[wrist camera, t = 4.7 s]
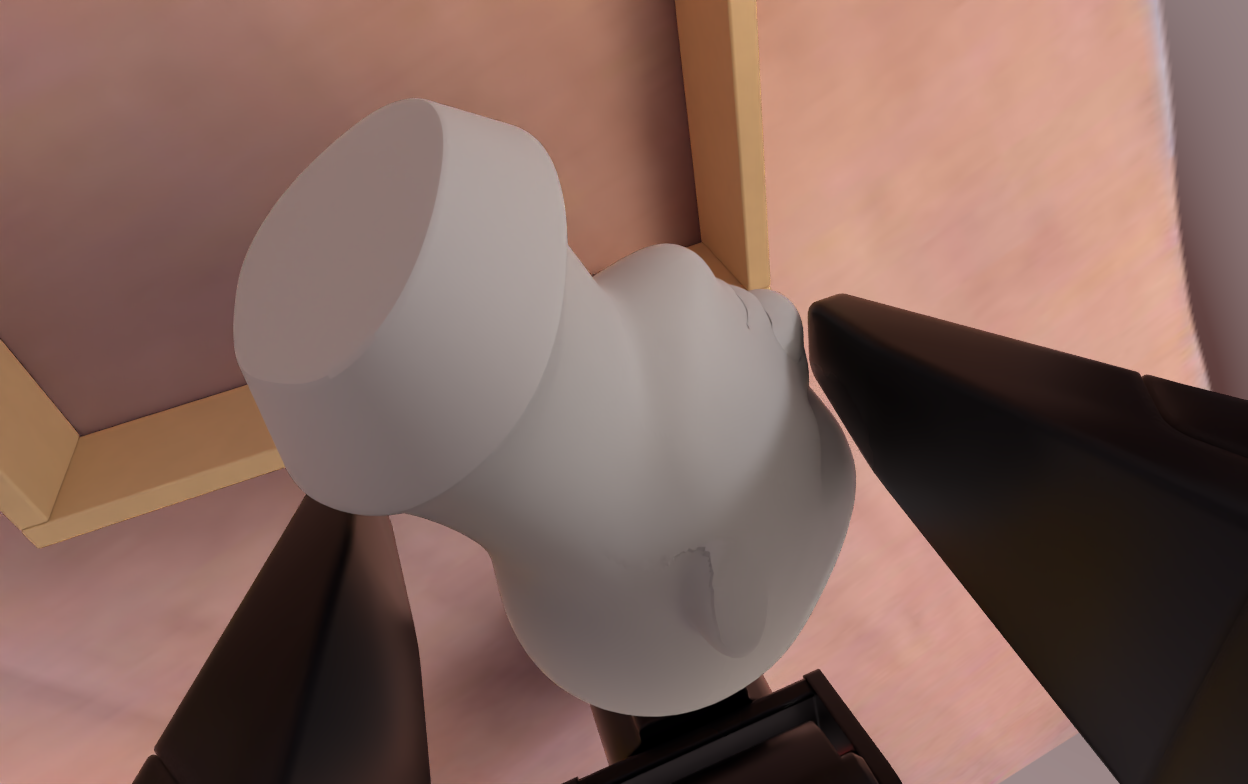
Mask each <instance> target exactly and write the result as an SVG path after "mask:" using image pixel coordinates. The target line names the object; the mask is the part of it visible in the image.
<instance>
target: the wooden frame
mask: <svg viewBox="0 0 1248 784" xmlns="http://www.w3.org/2000/svg"><path fill="white" fill-rule="evenodd" d="M675 7H676V16H677V25H678V34H679V43H680V52H681V61H682V70H683V79H684V88H685V97H686V106H687V115H688V124H689V133H690V142H691V151H692V160H693V169H694V178H695V187H696V196H697V205H698V214H699V223H700V232H701V240H702V242H701V243H698V244H695V245H692V246H688V247H685V248H688V249H690V250H691V251H693V252H695V253H696V254H697V255H698V256H699V257H701V258H702V259H703V260H704V262H705V263H706V264H707V265H708V267H709V268H710V269H711V271H712V273H713V274H714V276H715V277H716V278H719V279H721V280H723V281H724V282H726V283H727V284H730V285H734V286H737V287H740V288H742V289H745V290H747V291H750V290H754V289H769V290H771V287H770V286H769V285H770V266H769V246H768V226H767V206H766V186H765V167H764V147H763V127H762V107H761V87H760V68H759V48H758V28H757V8H756V0H675ZM282 468H285V465H284V463H283V461H282V459H281V457H280V454H279V452H278V450H277V448H276V446H275V443H274V441H273V439H272V437H271V435H270V433H269V430H268V428H267V426H266V424H265V422H264V419H263V417H262V415H261V413H260V411H259V408H258V406H257V404H256V402H255V400H254V398H253V395H252V393H251V391H250V389H249V387H248V385H245V386H242V387H238V388H235V389H232V390H229V391H226V392H222V393H219V394H216V395H213V396H210V397H206V398H203V399H200V400H197V401H194V402H190V403H187V404H184V405H181V406H178V407H175V408H171V409H168V410H165V411H162V412H159V413H155V414H152V415H149V416H146V417H143V418H139V419H136V420H133V421H130V422H127V423H123V424H120V425H117V426H114V427H111V428H107V429H104V430H101V431H98V432H95V433H92V434H88V435H85V436H82V437H79V434H78V433H77V431H76V430H75V429H74V428H73V427H72V425H71V424H70V423H69V422H68V421H67V419H66V418H65V417H64V416H63V414H62V413H61V412H60V411H59V410H58V408H57V407H56V406H55V405H54V404H53V402H52V401H51V400H50V399H49V398H48V396H47V395H46V394H45V393H44V391H43V390H42V389H41V388H40V387H39V385H38V384H37V383H36V382H35V381H34V379H33V378H32V377H31V376H30V374H29V373H28V372H27V371H26V370H25V368H24V367H23V366H22V365H21V364H20V362H19V361H18V360H17V359H16V357H15V356H14V355H13V354H12V353H11V351H10V350H9V349H8V348H7V347H6V345H5V344H4V343H3V342H2V340H1V339H0V511H1V512H2V513H3V514H4V515H5V516H6V517H7V518H8V519H9V520H10V521H11V522H12V523H13V524H14V525H15V526H16V527H17V528H18V529H20V530H22V533H23V534H24V535H25V536H26V537H27V538H28V539H29V540H30V541H31V542H32V543H33V544H34V545H35V546H36V547H37V548H43V547H46V546H49V545H52V544H55V543H58V542H61V541H64V540H67V539H70V538H73V537H76V536H79V535H82V534H85V533H88V532H91V531H94V530H97V529H101V528H104V527H107V526H110V525H113V524H116V523H119V522H122V521H125V520H128V519H131V518H134V517H137V516H140V515H143V514H146V513H149V512H152V511H155V510H158V509H161V508H164V507H167V506H170V505H173V504H176V503H179V502H182V501H185V500H188V499H191V498H194V497H197V496H200V495H203V494H206V493H209V492H212V491H215V490H218V489H221V488H224V487H227V486H230V485H234V484H237V483H240V482H243V481H246V480H249V479H252V478H255V477H258V476H261V475H264V474H267V473H270V472H273V471H276V470H279V469H282Z"/></svg>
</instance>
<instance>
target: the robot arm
mask: <svg viewBox="0 0 1248 784" xmlns="http://www.w3.org/2000/svg"><path fill="white" fill-rule="evenodd" d="M808 340H809V361H810V366H811V369H812V372H813V374H814V376H815V378H816V380H817V381H818V383H819V385H820V386H821V388H822V390H823V391H824V393H825V394H826V396H827V398H828V399H829V401H830V403H831V404H832V406H833V408H834V409H835V411H836V412H837V414H838V416H839V417H840V419H841V421H842V422H843V424H844V425H845V427H846V429H847V430H848V432H849V434H850V435H851V437H852V439H853V440H854V442H855V443H856V445H857V447H858V448H859V450H860V452H861V453H862V455H863V456H864V458H865V459H866V461H867V463H868V464H869V466H870V467H871V469H872V470H873V472H874V473H875V474H876V476H877V477H878V478H879V480H880V481H881V482H882V484H883V485H884V486H885V488H886V489H887V490H888V491H889V493H890V494H891V495H892V497H893V498H894V499H895V500H896V502H897V503H898V504H899V505H900V507H901V508H902V509H903V510H904V512H905V513H906V514H907V515H908V517H909V518H910V519H911V521H912V522H913V523H914V524H915V526H916V527H917V528H918V529H919V531H920V532H921V533H922V534H923V536H924V537H925V538H926V540H927V541H928V542H929V543H930V545H931V546H932V547H933V548H934V550H935V551H936V552H937V553H938V555H939V556H940V557H941V558H942V560H943V561H944V562H945V564H946V565H947V566H948V567H949V569H950V570H951V571H952V572H953V574H954V575H955V576H956V577H957V579H958V580H959V581H960V582H961V584H962V585H963V586H964V588H965V589H966V590H967V591H968V593H969V594H970V595H971V596H972V598H973V599H974V600H975V601H976V603H977V604H978V605H979V606H980V608H981V609H982V610H983V612H984V613H985V614H986V615H987V617H988V618H989V619H990V620H991V622H992V623H993V624H994V625H995V627H996V628H997V629H998V631H999V632H1000V633H1001V634H1002V636H1003V637H1004V638H1005V639H1006V641H1007V642H1008V643H1009V644H1010V646H1011V647H1012V648H1013V649H1014V651H1015V652H1016V653H1017V655H1018V656H1019V657H1020V658H1021V660H1022V661H1023V662H1024V663H1025V665H1026V666H1027V667H1028V668H1029V670H1030V671H1031V672H1032V673H1033V675H1034V676H1035V677H1036V679H1037V680H1038V681H1039V682H1040V684H1041V685H1042V686H1043V687H1044V689H1045V690H1046V691H1047V692H1048V694H1049V695H1050V696H1051V697H1052V699H1053V700H1054V701H1055V703H1056V704H1057V705H1058V706H1059V708H1060V709H1061V710H1062V711H1063V713H1064V714H1065V715H1066V716H1067V718H1068V719H1069V720H1070V722H1071V723H1072V724H1073V725H1074V727H1075V728H1076V729H1077V730H1078V732H1079V733H1080V734H1081V735H1082V737H1083V738H1084V739H1085V740H1086V742H1087V743H1088V744H1089V745H1090V747H1091V748H1092V749H1093V751H1094V752H1095V753H1096V754H1097V756H1098V757H1099V758H1100V759H1101V761H1102V762H1103V763H1104V764H1105V766H1106V767H1107V768H1108V769H1109V771H1110V772H1111V773H1112V775H1113V776H1114V777H1115V778H1116V780H1117V781H1118V782H1119V783H1120V784H1248V400H1244V399H1240V398H1236V397H1232V396H1228V395H1224V394H1220V393H1216V392H1212V391H1208V390H1204V389H1200V388H1196V387H1192V386H1188V385H1184V384H1181V383H1177V382H1173V381H1170V380H1166V379H1162V378H1159V377H1155V376H1151V375H1144V376H1142V377H1141V375H1140V374H1139V373H1138V372H1136V371H1132V370H1128V369H1125V368H1121V367H1117V366H1113V365H1110V364H1106V363H1102V362H1098V361H1095V360H1091V359H1087V358H1083V357H1080V356H1076V355H1072V354H1068V353H1065V352H1061V351H1057V350H1053V349H1050V348H1046V347H1042V346H1038V345H1035V344H1031V343H1027V342H1024V341H1020V340H1016V339H1012V338H1009V337H1005V336H1001V335H997V334H994V333H990V332H986V331H982V330H979V329H975V328H971V327H967V326H964V325H960V324H956V323H952V322H949V321H945V320H941V319H937V318H934V317H930V316H926V315H922V314H919V313H915V312H911V311H908V310H904V309H900V308H896V307H893V306H889V305H885V304H881V303H878V302H874V301H870V300H866V299H863V298H859V297H855V296H851V295H848V294H837V295H834V296H831V297H828V298H825V299H822V300H819V301H816V302H814V303H813V304H812V305H811V306H810V307H809V311H808ZM590 707H591V710H592V713H593V716H594V719H595V722H596V726H597V729H598V732H599V735H600V738H601V741H602V744H603V748H604V751H605V754H606V757H607V760H608V763H609V766H608V767H606V768H603V769H601V770H599V771H597V772H595V773H592V774H590V775H588V776H586V777H583V778H581V779H579V778H578V777H576V778H573V779H571V780H569V781H567V782H565V783H562V784H902V782H901V780H900V779H899V777H898V776H897V774H896V773H895V771H894V770H893V768H892V767H891V765H890V764H889V762H888V761H887V760H886V758H885V757H884V756H883V754H882V753H881V752H880V750H879V749H878V748H877V746H876V745H875V743H874V742H873V741H872V739H871V738H870V737H869V735H868V734H867V733H866V731H865V730H864V729H863V727H862V726H861V725H860V723H859V722H858V720H857V719H856V718H855V716H854V715H853V714H852V712H851V711H850V710H849V708H848V707H847V706H846V704H845V703H844V702H843V700H842V699H841V697H840V696H839V695H838V693H837V692H836V691H835V689H834V688H833V687H832V685H831V684H830V683H829V681H828V680H827V679H826V677H825V676H824V674H823V673H822V672H821V670H820V669H817V670H814V671H812V672H810V673H808V674H806V675H803V679H802V680H800V681H797V682H795V683H793V684H791V685H789V686H786V687H784V688H782V689H780V690H777V691H775V692H773V693H772V691H771V689H770V687H769V685H768V683H767V682H766V680H765V678H764V676H763V674H762V675H761V676H760V677H759V678H757V679H756V680H755V681H753V682H752V683H750V684H749V685H747V686H746V687H744V688H743V689H741V690H739V691H738V692H736V693H734V694H733V695H731V696H729V697H727V698H725V699H723V700H721V701H719V702H717V703H715V704H712V705H709V706H707V707H704V708H701V709H698V710H695V711H691V712H687V713H683V714H678V715H669V716H657V717H655V716H634V715H627V714H621V713H617V712H613V711H609V710H605V709H602V708H599V707H597V706H594V705H591V704H590ZM154 751H155V753H156V754H157V755H151V756H149V757H148V758H147V760H146V761H145V763H144V765H143V766H142V768H141V770H140V771H139V773H138V775H137V776H136V778H135V780H134V781H133V783H132V784H431V778H430V767H429V756H428V744H427V733H426V722H425V710H424V699H423V688H422V676H421V665H420V657H419V649H418V642H417V637H416V632H415V627H414V622H413V617H412V613H411V609H410V604H409V600H408V595H407V591H406V586H405V582H404V577H403V573H402V568H401V564H400V559H399V555H398V550H397V546H396V541H395V537H394V532H393V528H392V525H391V521H390V519H389V516H388V515H387V516H364V515H357V514H352V513H347V512H343V511H340V510H337V509H334V508H331V507H329V506H326V505H324V504H322V503H320V502H318V501H316V500H314V499H313V498H311V497H310V496H308V495H307V494H306V496H305V497H304V499H303V501H302V502H301V504H300V506H299V507H298V509H297V511H296V512H295V514H294V516H293V517H292V519H291V521H290V522H289V524H288V526H287V527H286V529H285V531H284V532H283V534H282V536H281V537H280V539H279V541H278V542H277V544H276V546H275V547H274V549H273V551H272V552H271V554H270V556H269V557H268V559H267V561H266V562H265V564H264V566H263V567H262V569H261V571H260V572H259V574H258V576H257V577H256V579H255V581H254V582H253V584H252V586H251V587H250V589H249V591H248V592H247V594H246V596H245V597H244V599H243V601H242V602H241V604H240V606H239V607H238V609H237V611H236V612H235V614H234V616H233V617H232V619H231V620H230V622H229V624H228V625H227V627H226V629H225V630H224V632H223V634H222V635H221V637H220V639H219V640H218V642H217V644H216V645H215V647H214V649H213V650H212V652H211V654H210V655H209V657H208V659H207V660H206V662H205V664H204V665H203V667H202V669H201V670H200V672H199V674H198V675H197V677H196V679H195V680H194V682H193V684H192V685H191V687H190V689H189V690H188V692H187V694H186V695H185V697H184V699H183V700H182V702H181V704H180V705H179V707H178V709H177V710H176V712H175V714H174V715H173V717H172V719H171V720H170V722H169V724H168V725H167V727H166V729H165V730H164V732H163V734H162V735H161V737H160V739H159V740H158V742H157V744H156V745H155V747H154Z"/></svg>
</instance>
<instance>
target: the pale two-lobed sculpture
mask: <svg viewBox="0 0 1248 784" xmlns="http://www.w3.org/2000/svg"><path fill="white" fill-rule="evenodd" d="M233 336H234V349H235V355H236V359H237V362H238V365H239V367H240V369H241V371H242V373H243V376H244V378H245V380H246V382H247V384H248V387H249V389H250V391H251V393H252V395H253V398H254V400H255V402H256V404H257V406H258V408H259V411H260V413H261V415H262V417H263V419H264V422H265V424H266V426H267V428H268V430H269V433H270V435H271V437H272V439H273V441H274V443H275V446H276V448H277V450H278V452H279V454H280V457H281V459H282V461H283V463H284V465H285V467H286V469H287V471H288V473H289V475H290V476H291V478H292V479H293V480H294V482H295V483H296V484H297V485H298V487H299V488H300V489H301V490H302V491H303V492H305V493H306V494H307V495H308V496H310V497H311V498H313V499H314V500H316V501H318V502H320V503H322V504H324V505H326V506H329V507H331V508H334V509H337V510H340V511H343V512H347V513H352V514H357V515H364V516H387V515H395V514H402V513H406V514H411V515H415V516H418V517H422V518H425V519H428V520H431V521H434V522H437V523H440V524H442V525H444V526H447V527H449V528H451V529H454V530H456V531H458V532H460V533H462V534H464V535H465V536H467V537H469V538H471V539H472V540H474V541H475V542H477V543H478V544H480V545H481V546H482V547H483V548H484V549H485V550H486V551H487V552H488V553H489V555H490V557H491V559H492V563H493V567H494V571H495V576H496V580H497V584H498V588H499V592H500V596H501V599H502V603H503V606H504V609H505V612H506V614H507V617H508V620H509V622H510V624H511V626H512V629H513V631H514V633H515V635H516V637H517V638H518V640H519V642H520V643H521V645H522V647H523V648H524V650H525V651H526V653H527V654H528V656H529V657H530V658H531V659H532V661H533V662H534V663H535V664H536V666H537V667H538V668H539V669H540V670H541V671H542V672H543V673H544V674H545V675H546V676H547V677H548V678H549V679H550V680H552V681H553V682H554V683H555V684H556V685H558V686H559V687H560V688H562V689H563V690H565V691H566V692H568V693H569V694H571V695H573V696H574V697H576V698H578V699H580V700H582V701H584V702H586V703H588V704H591V705H594V706H597V707H599V708H602V709H605V710H609V711H613V712H617V713H621V714H627V715H634V716H655V717H657V716H669V715H678V714H683V713H687V712H691V711H695V710H698V709H701V708H704V707H707V706H709V705H712V704H715V703H717V702H719V701H721V700H723V699H725V698H727V697H729V696H731V695H733V694H734V693H736V692H738V691H739V690H741V689H743V688H744V687H746V686H747V685H749V684H750V683H752V682H753V681H755V680H756V679H757V678H759V677H760V676H761V675H762V674H764V673H765V672H766V671H767V670H768V669H770V668H771V667H772V666H773V665H774V664H775V663H776V662H777V661H778V660H779V659H780V658H781V657H782V655H783V654H784V653H785V652H786V651H787V650H788V648H789V647H790V646H791V644H792V643H793V642H794V640H795V639H796V638H797V636H798V635H799V633H800V632H801V630H802V629H803V627H804V625H805V624H806V622H807V620H808V618H809V617H810V615H811V613H812V611H813V609H814V607H815V605H816V603H817V602H818V600H819V598H820V596H821V594H822V592H823V590H824V588H825V586H826V584H827V581H828V579H829V577H830V575H831V572H832V570H833V568H834V566H835V563H836V561H837V558H838V556H839V553H840V551H841V548H842V545H843V542H844V539H845V536H846V533H847V530H848V527H849V523H850V519H851V515H852V510H853V506H854V500H855V490H856V471H855V464H854V460H853V456H852V453H851V450H850V447H849V444H848V442H847V439H846V437H845V435H844V433H843V431H842V429H841V427H840V425H839V423H838V422H837V420H836V419H835V417H834V416H833V415H832V413H831V412H830V411H829V409H828V408H827V407H826V406H825V405H824V403H823V402H822V401H821V400H820V398H819V397H818V396H817V395H816V394H815V392H814V391H813V390H812V389H811V388H810V387H809V370H808V363H807V358H806V354H805V349H804V342H803V337H804V336H803V326H802V321H801V318H800V315H799V313H798V311H797V309H796V308H795V306H794V305H793V303H792V302H791V301H790V300H789V299H788V298H786V297H785V296H784V295H782V294H780V293H778V292H776V291H773V290H769V289H754V290H750V291H747V290H745V289H742V288H740V287H737V286H734V285H730V284H727V283H726V282H724V281H723V280H721V279H719V278H716V277H715V276H714V274H713V273H712V271H711V269H710V268H709V267H708V265H707V264H706V263H705V262H704V260H703V259H702V258H701V257H699V256H698V255H697V254H696V253H695V252H693V251H691V250H690V249H688V248H685V247H683V246H680V245H676V244H668V243H665V244H657V245H652V246H649V247H646V248H643V249H641V250H638V251H636V252H634V253H632V254H630V255H628V256H626V257H624V258H622V259H621V260H619V261H617V262H615V263H614V264H612V265H610V266H609V267H607V268H606V269H604V270H602V271H601V272H599V273H597V274H596V275H594V276H591V275H590V273H589V272H588V271H587V269H586V268H585V267H584V265H583V264H582V263H581V261H580V260H579V259H578V257H577V256H576V255H575V253H574V252H573V251H572V249H571V248H570V247H569V245H568V241H567V222H566V212H565V204H564V198H563V193H562V189H561V185H560V181H559V178H558V175H557V172H556V169H555V167H554V164H553V162H552V160H551V158H550V156H549V154H548V153H547V151H546V150H545V148H544V147H543V146H542V144H541V143H540V142H539V141H538V140H537V139H536V138H535V137H534V136H532V135H531V134H530V133H528V132H527V131H525V130H523V129H521V128H519V127H517V126H514V125H511V124H508V123H504V122H501V121H498V120H494V119H491V118H487V117H484V116H481V115H477V114H474V113H470V112H467V111H464V110H460V109H457V108H454V107H450V106H447V105H443V104H440V103H437V102H433V101H430V100H426V99H422V98H408V99H404V100H400V101H396V102H393V103H391V104H388V105H386V106H384V107H382V108H380V109H378V110H376V111H374V112H373V113H371V114H369V115H368V116H366V117H365V118H363V119H362V120H361V121H359V122H358V123H357V124H355V125H354V126H353V127H351V128H350V129H349V130H347V131H346V132H345V133H344V134H342V135H341V136H340V137H339V138H338V139H337V140H335V141H334V142H333V143H332V144H331V145H330V146H328V147H327V148H326V149H325V150H324V151H323V152H322V153H321V154H320V155H319V156H318V157H317V158H316V159H315V160H313V161H312V162H311V163H310V164H309V165H308V166H307V167H306V168H305V170H304V171H303V172H302V173H301V174H300V175H299V176H298V177H297V178H296V179H295V180H294V181H293V183H292V184H291V185H290V186H289V187H288V188H287V190H286V191H285V192H284V193H283V195H282V196H281V197H280V198H279V200H278V201H277V202H276V204H275V205H274V206H273V208H272V209H271V211H270V212H269V214H268V215H267V217H266V218H265V220H264V221H263V223H262V224H261V226H260V228H259V230H258V231H257V233H256V235H255V237H254V239H253V241H252V243H251V245H250V247H249V249H248V252H247V254H246V257H245V259H244V262H243V265H242V268H241V271H240V275H239V279H238V284H237V290H236V297H235V307H234V324H233Z"/></svg>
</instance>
